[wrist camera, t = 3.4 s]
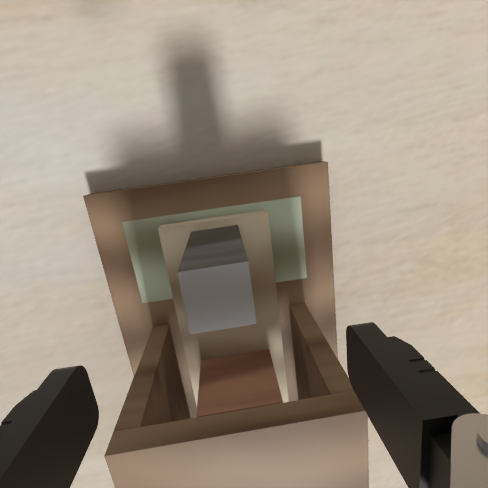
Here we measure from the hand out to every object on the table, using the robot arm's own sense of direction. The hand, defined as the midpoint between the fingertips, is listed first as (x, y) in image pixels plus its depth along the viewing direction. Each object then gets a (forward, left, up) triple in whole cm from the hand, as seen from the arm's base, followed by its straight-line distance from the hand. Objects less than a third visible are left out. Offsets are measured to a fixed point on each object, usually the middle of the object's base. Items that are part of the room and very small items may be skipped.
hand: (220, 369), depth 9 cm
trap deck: (+10, 0, -14) cm, 17 cm away
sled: (+8, 0, -12) cm, 15 cm away
